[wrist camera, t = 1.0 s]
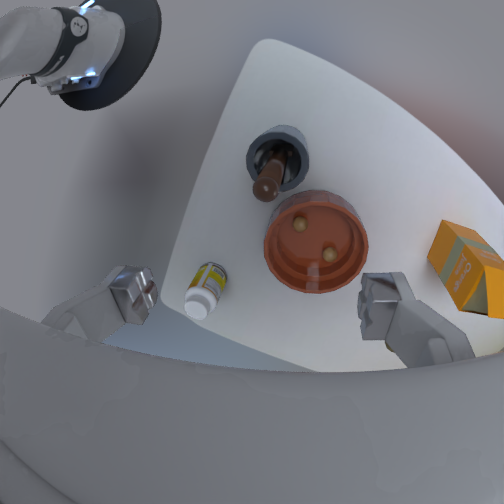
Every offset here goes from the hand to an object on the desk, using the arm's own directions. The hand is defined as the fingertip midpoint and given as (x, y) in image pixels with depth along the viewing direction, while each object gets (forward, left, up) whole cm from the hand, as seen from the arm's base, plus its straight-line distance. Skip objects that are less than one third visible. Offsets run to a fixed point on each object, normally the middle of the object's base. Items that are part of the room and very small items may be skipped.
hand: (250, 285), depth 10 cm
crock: (-1, 0, -32) cm, 32 cm away
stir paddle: (-1, 0, -31) cm, 31 cm away
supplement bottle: (-14, -23, -32) cm, 41 cm away
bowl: (+4, -14, -32) cm, 35 cm away
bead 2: (+7, -16, -30) cm, 35 cm away
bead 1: (+2, -11, -30) cm, 32 cm away
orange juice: (+30, -14, -32) cm, 46 cm away
